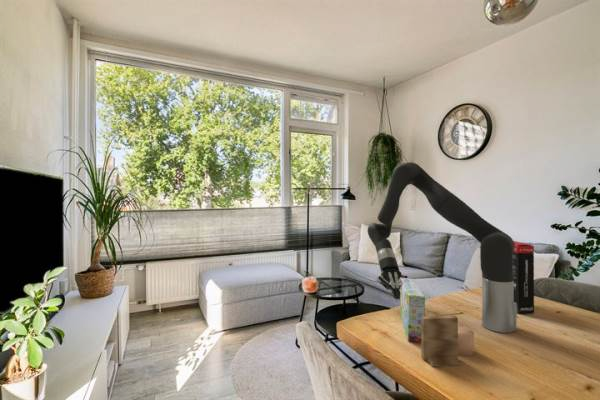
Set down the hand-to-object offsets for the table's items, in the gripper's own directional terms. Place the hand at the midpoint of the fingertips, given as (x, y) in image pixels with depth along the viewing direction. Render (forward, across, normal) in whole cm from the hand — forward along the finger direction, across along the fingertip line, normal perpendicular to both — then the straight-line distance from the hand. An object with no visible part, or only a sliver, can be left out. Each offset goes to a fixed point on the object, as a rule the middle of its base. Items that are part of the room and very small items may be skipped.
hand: (397, 298), depth 119 cm
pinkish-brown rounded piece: (+25, +9, -16) cm, 31 cm away
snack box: (+14, 0, -5) cm, 14 cm away
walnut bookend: (+28, 0, -20) cm, 34 cm away
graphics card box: (+2, +49, +7) cm, 49 cm away
